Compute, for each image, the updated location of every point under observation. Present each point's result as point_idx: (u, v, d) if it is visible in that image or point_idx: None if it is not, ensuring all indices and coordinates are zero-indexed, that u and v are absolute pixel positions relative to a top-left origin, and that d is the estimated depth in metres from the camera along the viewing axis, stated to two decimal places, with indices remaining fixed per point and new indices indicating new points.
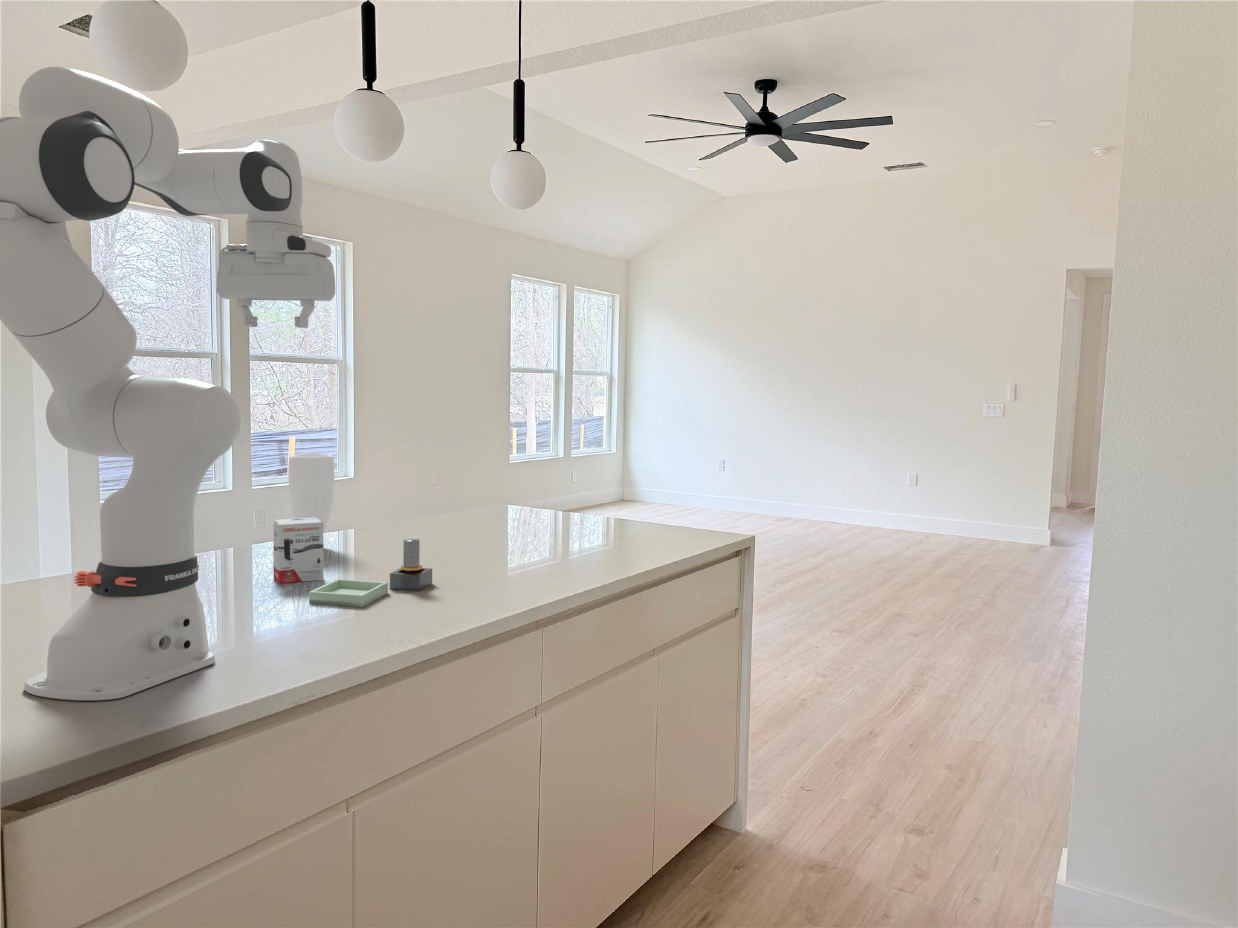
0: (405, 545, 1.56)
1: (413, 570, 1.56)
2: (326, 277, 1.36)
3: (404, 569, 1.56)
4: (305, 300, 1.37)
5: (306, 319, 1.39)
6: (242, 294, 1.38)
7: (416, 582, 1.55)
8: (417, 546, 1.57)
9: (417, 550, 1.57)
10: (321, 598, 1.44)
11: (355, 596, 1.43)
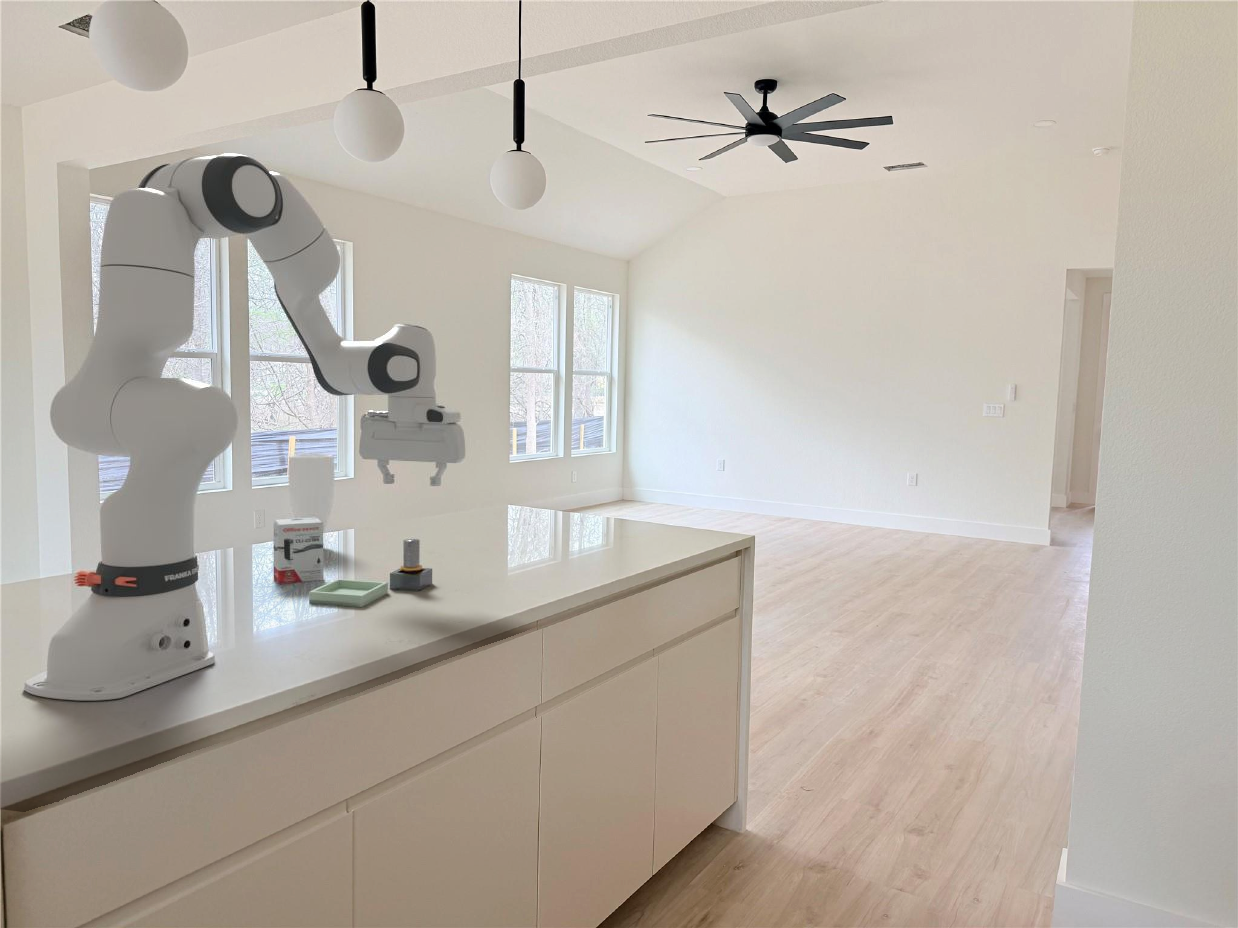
0: (405, 545, 1.56)
1: (413, 570, 1.56)
2: (459, 444, 1.53)
3: (404, 569, 1.56)
4: (440, 463, 1.54)
5: (439, 478, 1.56)
6: (383, 457, 1.55)
7: (416, 582, 1.55)
8: (417, 546, 1.57)
9: (417, 550, 1.57)
10: (321, 598, 1.44)
11: (355, 596, 1.43)
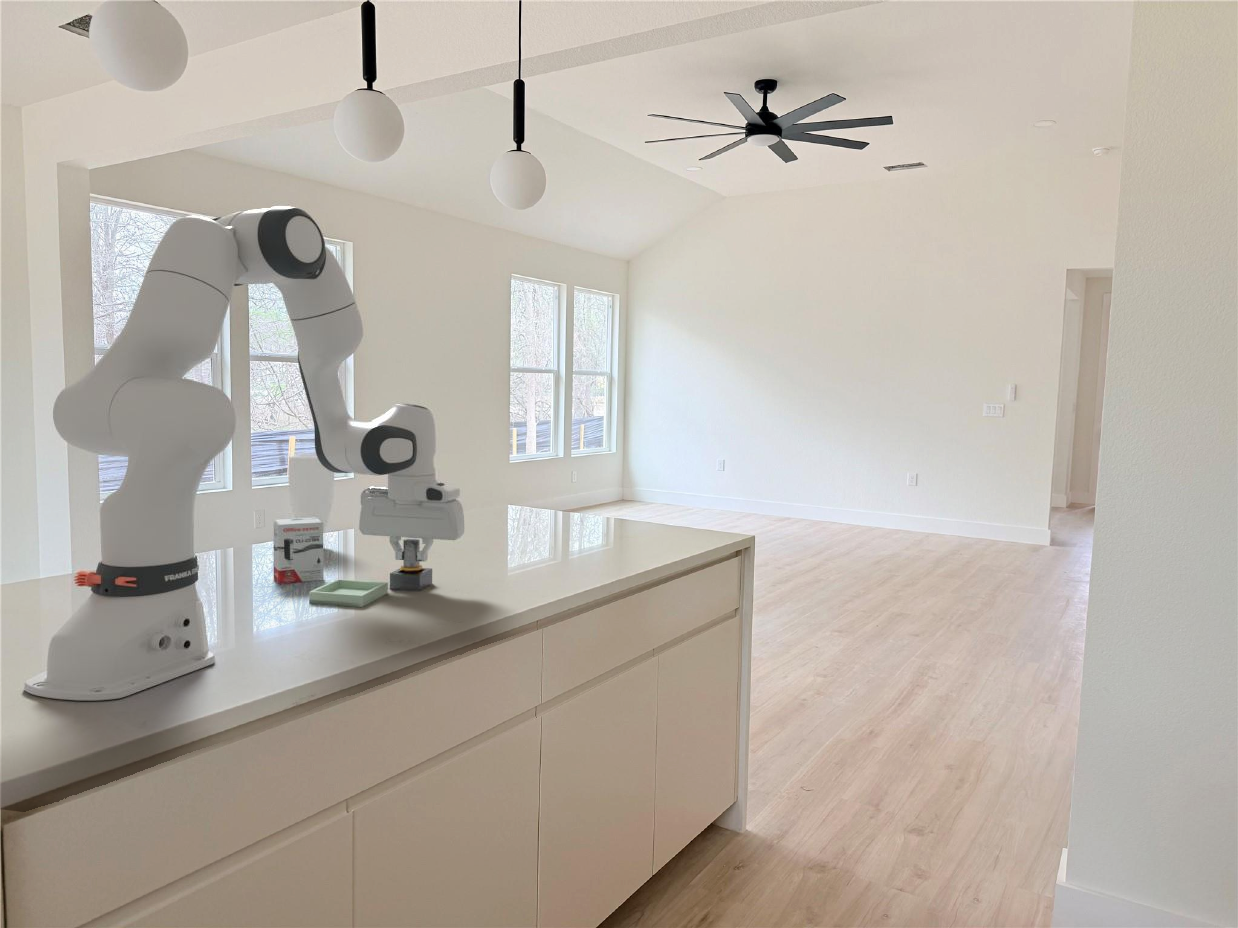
0: (405, 545, 1.56)
1: (413, 570, 1.56)
2: (458, 521, 1.54)
3: (404, 569, 1.56)
4: (426, 539, 1.56)
5: (426, 553, 1.57)
6: (383, 533, 1.56)
7: (416, 582, 1.55)
8: (417, 546, 1.57)
9: (417, 550, 1.57)
10: (321, 598, 1.44)
11: (355, 596, 1.43)
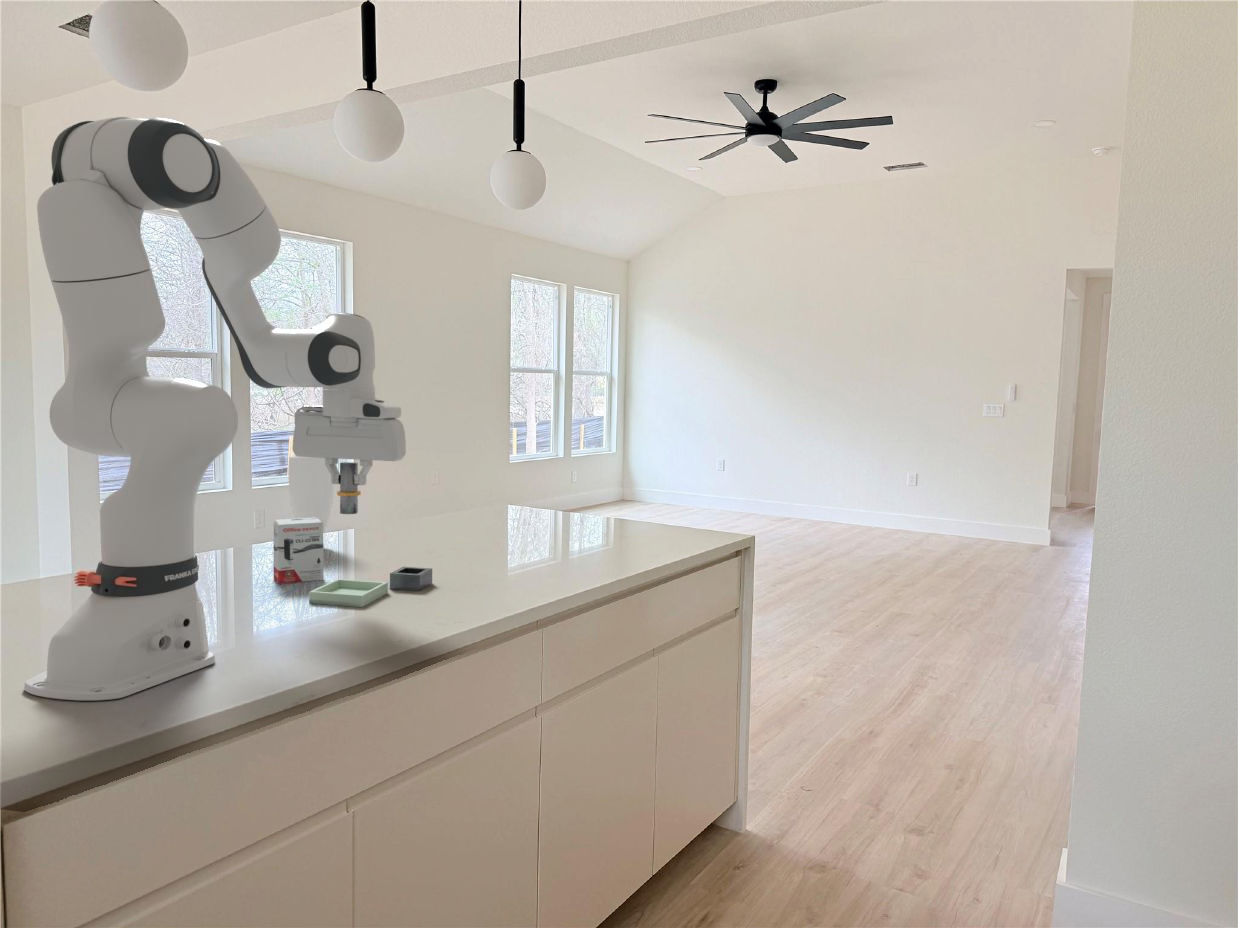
0: (341, 468, 1.45)
1: (350, 495, 1.45)
2: (398, 441, 1.43)
3: (340, 493, 1.45)
4: (364, 460, 1.45)
5: (364, 477, 1.46)
6: (317, 454, 1.45)
7: (416, 582, 1.55)
8: (355, 469, 1.46)
9: (355, 473, 1.46)
10: (321, 598, 1.44)
11: (355, 596, 1.43)
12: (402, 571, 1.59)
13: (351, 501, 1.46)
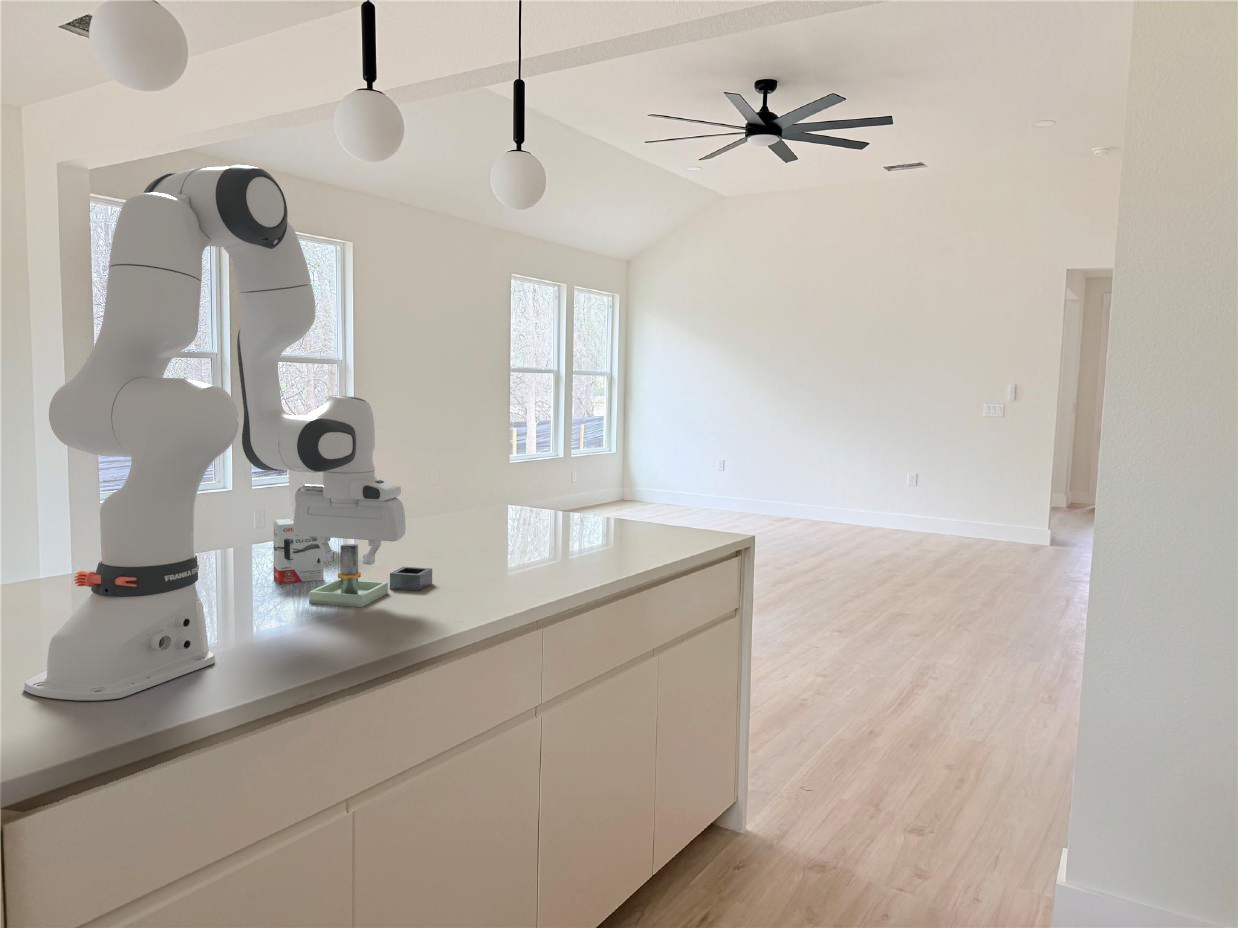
0: (342, 550, 1.47)
1: (350, 577, 1.46)
2: (398, 521, 1.44)
3: (341, 576, 1.46)
4: (373, 541, 1.46)
5: (373, 556, 1.47)
6: (318, 533, 1.47)
7: (416, 582, 1.55)
8: (355, 552, 1.47)
9: (355, 556, 1.47)
10: (321, 598, 1.44)
11: (355, 596, 1.43)
12: (402, 571, 1.59)
13: (351, 584, 1.47)
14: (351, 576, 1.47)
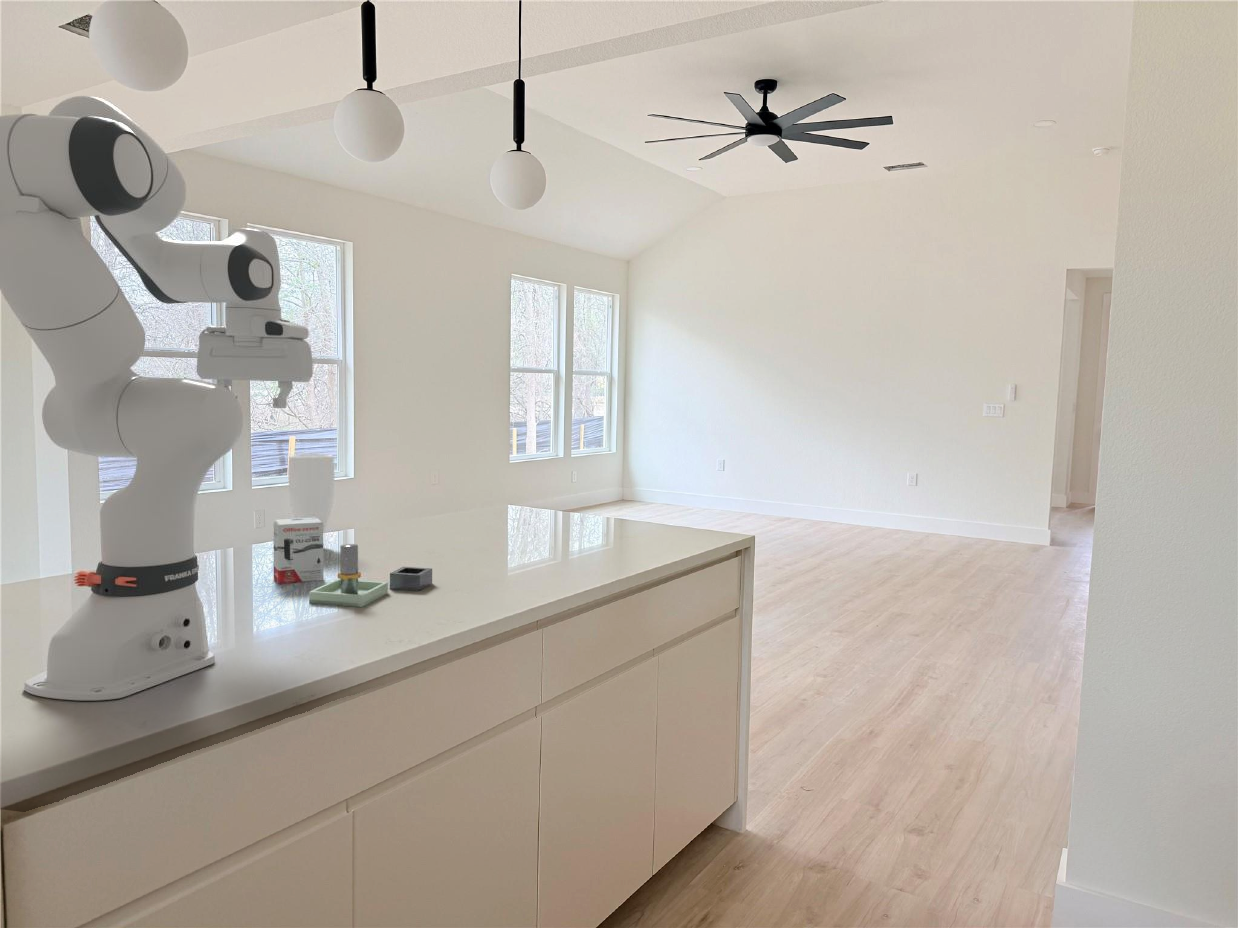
0: (342, 551, 1.47)
1: (350, 578, 1.46)
2: (303, 361, 1.39)
3: (341, 576, 1.46)
4: (283, 382, 1.41)
5: (284, 400, 1.42)
6: (222, 376, 1.42)
7: (416, 582, 1.55)
8: (355, 552, 1.47)
9: (355, 556, 1.47)
10: (321, 598, 1.44)
11: (355, 596, 1.43)
12: (402, 571, 1.59)
13: (351, 584, 1.47)
14: (351, 576, 1.46)
